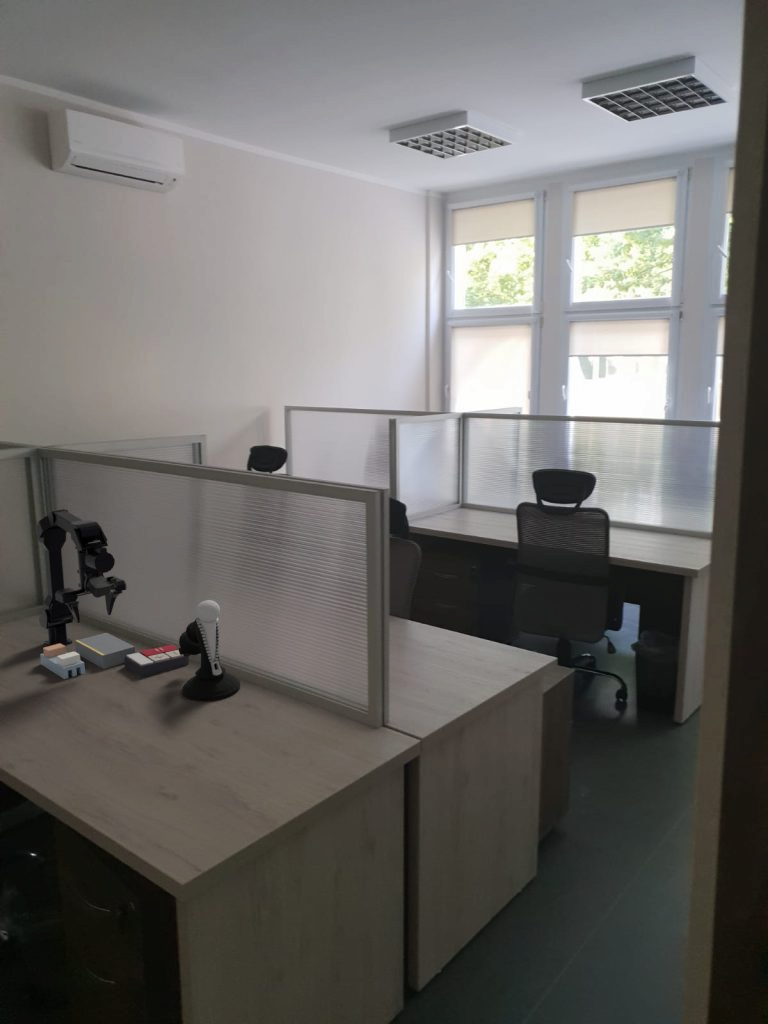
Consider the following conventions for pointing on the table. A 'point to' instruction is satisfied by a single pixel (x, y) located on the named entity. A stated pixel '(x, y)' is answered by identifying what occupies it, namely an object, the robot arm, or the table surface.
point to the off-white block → (68, 658)
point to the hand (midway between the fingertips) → (94, 618)
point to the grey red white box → (155, 661)
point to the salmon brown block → (54, 650)
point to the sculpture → (206, 657)
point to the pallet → (60, 670)
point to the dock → (104, 650)
